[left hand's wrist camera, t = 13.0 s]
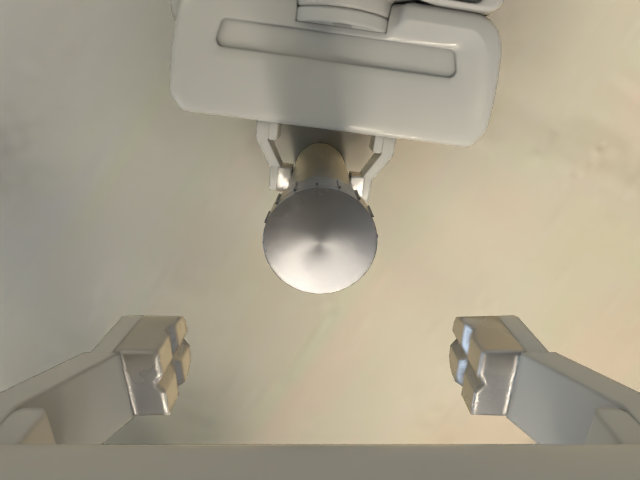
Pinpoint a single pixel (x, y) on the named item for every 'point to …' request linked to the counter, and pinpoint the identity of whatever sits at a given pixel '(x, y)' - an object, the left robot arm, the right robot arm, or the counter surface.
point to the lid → (320, 236)
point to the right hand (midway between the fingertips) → (319, 194)
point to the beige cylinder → (320, 164)
